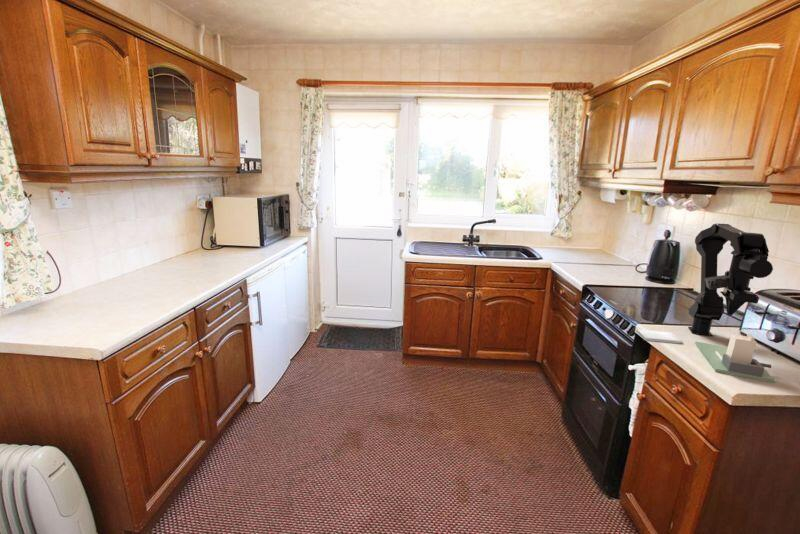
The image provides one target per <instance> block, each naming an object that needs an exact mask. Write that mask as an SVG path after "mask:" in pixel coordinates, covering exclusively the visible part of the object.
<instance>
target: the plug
mask: <svg viewBox="0 0 800 534" xmlns="http://www.w3.org/2000/svg"><path fill="white" fill-rule="evenodd" d="M755 338H756V337H754V336H753V335H752V334H751V333H750V334H749V333H747V334H746V336H745V335H741V334H734V333H731V334H730V338H729V342H728V345H727V347H728V348H727V352H726V354H727V355H728V356H729V357H730V358H731V359H732V360H733V361H735V362H740V363H746V364H751V361H752V357H753V358H754V353H755V349H756V347H757V343H758V342H757V340H755ZM759 363H760V364H761V365H762V366H763V367H764V368H768V369H771V368H772V364H768V363H763V362H759Z"/></svg>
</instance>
